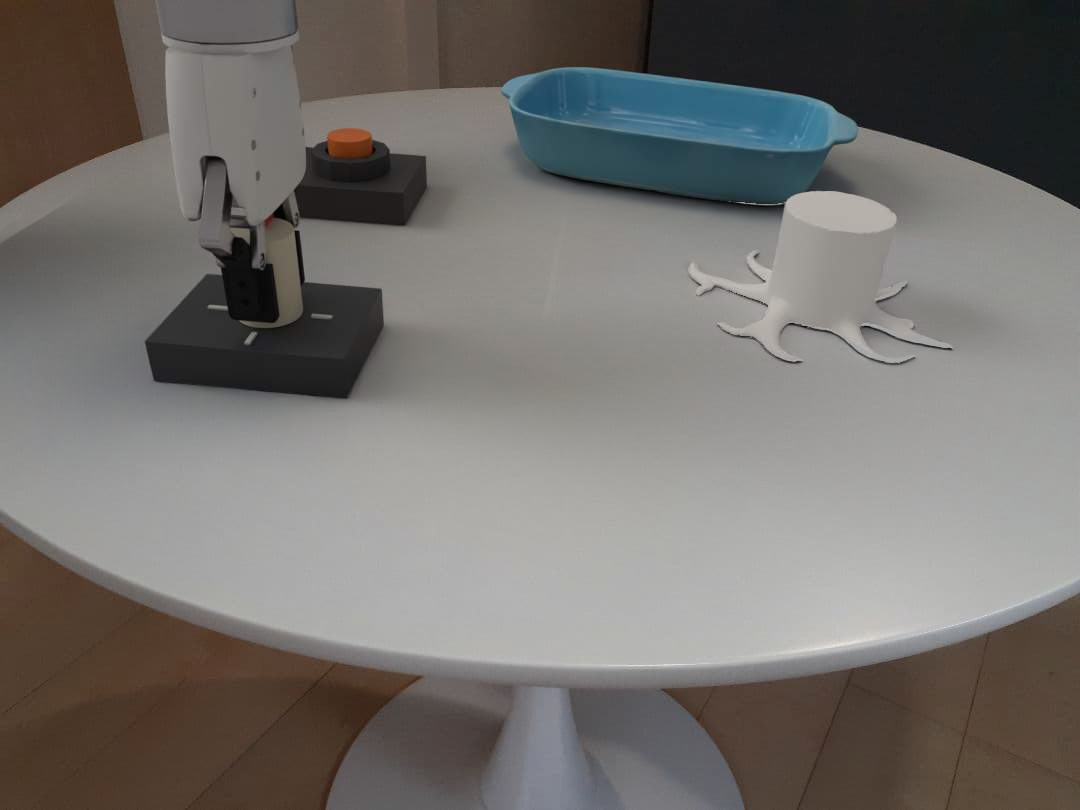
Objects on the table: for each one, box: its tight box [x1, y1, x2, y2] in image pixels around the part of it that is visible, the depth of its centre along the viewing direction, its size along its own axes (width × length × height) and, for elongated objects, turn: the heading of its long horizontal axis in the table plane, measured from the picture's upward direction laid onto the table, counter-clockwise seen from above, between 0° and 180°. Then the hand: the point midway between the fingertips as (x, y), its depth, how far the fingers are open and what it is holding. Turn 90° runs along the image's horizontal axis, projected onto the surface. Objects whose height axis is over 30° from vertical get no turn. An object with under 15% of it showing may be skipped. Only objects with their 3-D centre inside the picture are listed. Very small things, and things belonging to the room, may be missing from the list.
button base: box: [296, 139, 428, 227], centre depth 86 cm, size 12×10×5 cm
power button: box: [326, 127, 373, 158], centre depth 85 cm, size 4×4×2 cm
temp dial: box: [230, 213, 303, 328], centre depth 61 cm, size 4×4×6 cm
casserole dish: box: [501, 66, 859, 204], centre depth 97 cm, size 37×22×7 cm, turn 74°
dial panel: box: [144, 273, 385, 399], centre depth 63 cm, size 13×10×3 cm
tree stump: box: [688, 190, 927, 360], centre depth 71 cm, size 20×19×8 cm
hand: (268, 298), depth 62 cm, fingers closed on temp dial, 4 cm apart
